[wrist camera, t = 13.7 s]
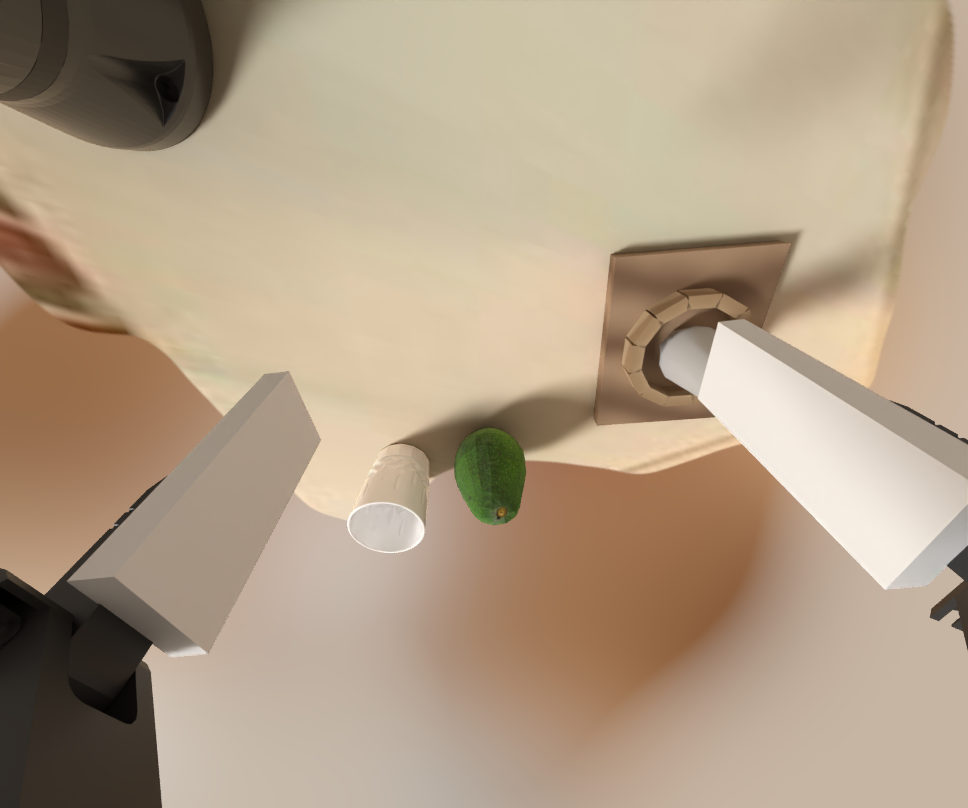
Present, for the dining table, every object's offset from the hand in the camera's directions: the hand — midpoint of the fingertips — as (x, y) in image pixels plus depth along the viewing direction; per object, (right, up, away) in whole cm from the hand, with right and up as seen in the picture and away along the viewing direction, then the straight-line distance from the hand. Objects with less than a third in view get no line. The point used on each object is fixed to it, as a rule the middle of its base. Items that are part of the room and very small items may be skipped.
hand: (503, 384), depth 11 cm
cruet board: (+19, +6, +26) cm, 32 cm away
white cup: (-11, -8, +34) cm, 37 cm away
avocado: (0, -5, +32) cm, 33 cm away
